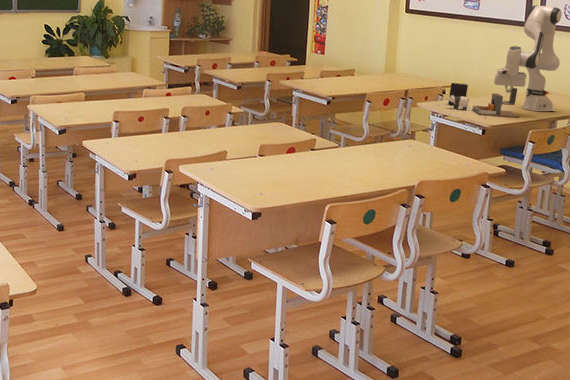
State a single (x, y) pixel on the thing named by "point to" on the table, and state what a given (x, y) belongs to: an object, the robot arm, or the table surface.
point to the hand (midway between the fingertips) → (508, 92)
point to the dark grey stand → (497, 111)
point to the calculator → (458, 91)
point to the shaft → (511, 98)
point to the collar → (490, 107)
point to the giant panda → (459, 102)
